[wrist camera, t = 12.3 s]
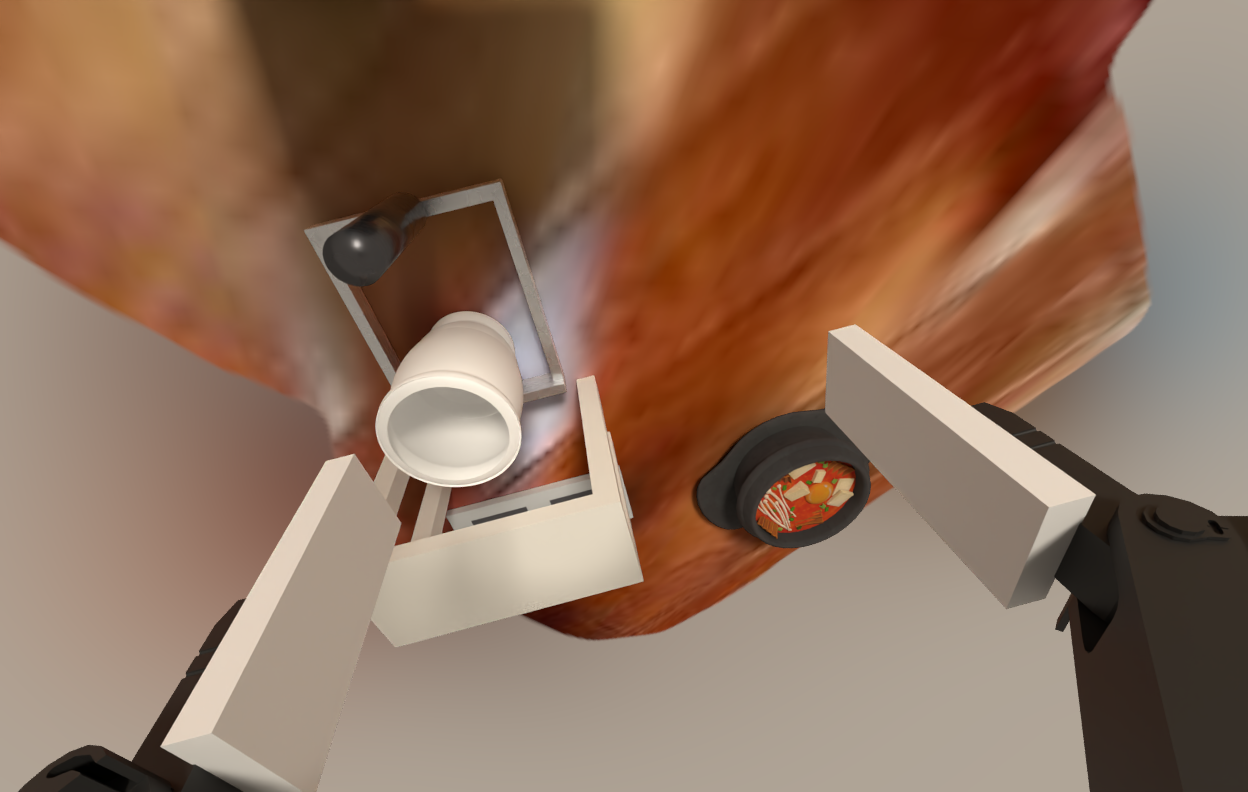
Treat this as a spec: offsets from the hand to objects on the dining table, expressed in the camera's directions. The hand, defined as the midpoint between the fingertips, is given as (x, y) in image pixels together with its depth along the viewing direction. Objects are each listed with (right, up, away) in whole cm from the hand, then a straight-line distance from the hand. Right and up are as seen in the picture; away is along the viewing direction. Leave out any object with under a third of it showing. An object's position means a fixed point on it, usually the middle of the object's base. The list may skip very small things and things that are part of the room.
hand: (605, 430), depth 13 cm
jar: (-15, +6, +35) cm, 39 cm away
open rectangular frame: (-11, -9, +45) cm, 47 cm away
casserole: (+22, -8, +51) cm, 55 cm away
